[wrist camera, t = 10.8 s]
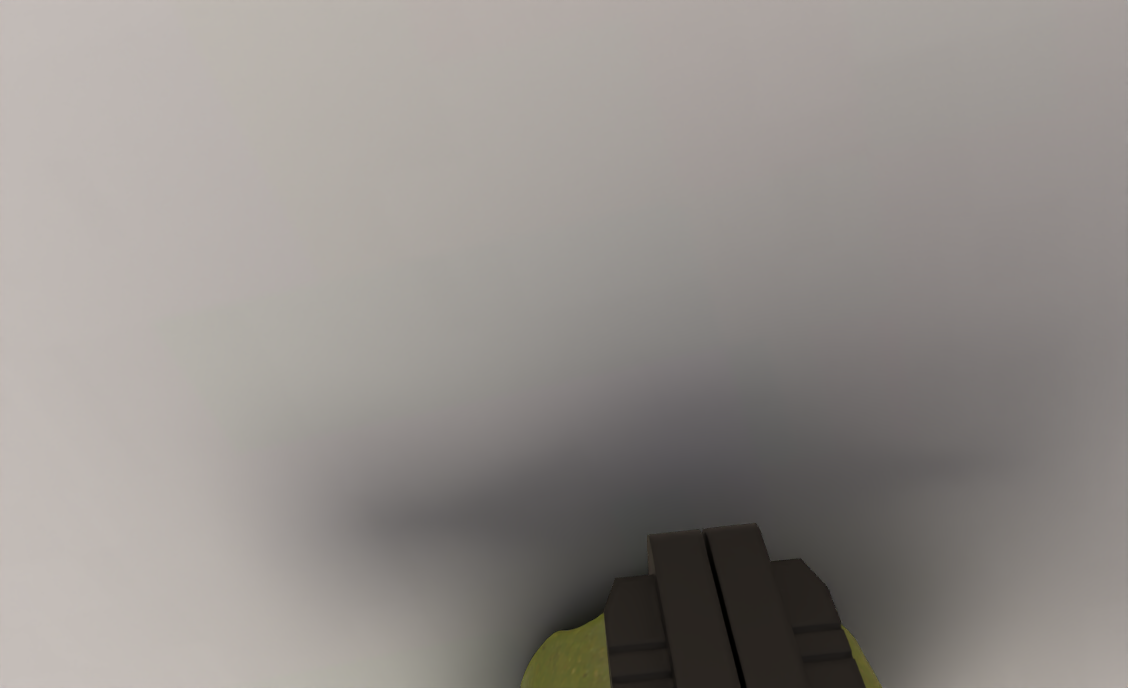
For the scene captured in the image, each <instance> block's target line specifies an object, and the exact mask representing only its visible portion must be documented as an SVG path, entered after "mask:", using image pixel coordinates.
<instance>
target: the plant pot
mask: <svg viewBox="0 0 1128 688" xmlns="http://www.w3.org/2000/svg"><path fill="white" fill-rule="evenodd" d="M841 627H842V629H844V632H845V634H846V637H847V639H848V642H849V645H850V647H851V650H852V656H853V659H855V660H856V663H857V666H858V668H859V671H860V673H861V676H862V679H863V681H864V684H865V687H866V688H882V686H881V684H880V683H879V681H878V679H877V677H876V676H875V674H874V672H873V670H872V668H871V667H870V665H869V663H868V661H867V660H866V658H865V656H864V654H863V652H862V650H861V649H860V647H859V645H858V643H857V641H856V639H855V638H854V637H853V636H852V635H851V633H850V632H849V631H848V630H847V629H846V628H845V627H844V626H843V625H842V624H841ZM520 688H611V686H610V677H609V666H608V656H607V645H606V634H605V623H604V613H602V614H601V615H600V616H598V617H597V618H596V619H594V620H592V621H590V622H588V623H587V624H585V625H583V626H581V627H578V628H576V629H572V630H567V631H557V632H555V633H553V634H552V635H551V636H550V637H549V638H548V639H546V641H545V642H544V643H543V644H542V645H541V647H540V648H539V649H538V650H537V652H536V653H535V654H534V656H533V658H532V659H531V661H530V663H529V664H528V667H527V669H526V671H525V674H524V676H523V679H522V682H521V686H520Z"/></svg>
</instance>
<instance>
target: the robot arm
mask: <svg viewBox="0 0 1128 688" xmlns="http://www.w3.org/2000/svg"><path fill="white" fill-rule="evenodd" d="M647 552H648V574H649V575H642V576H633V577H623V578H615V580H614V583H613V586H612V588H611V591H610V594H609V597H608V600H607V603H606V606H605V608H604V611H603V612H604V623H605V634H606V645H607V656H608V666H609V677H610V686H611V688H866V687H865V684H864V681H863V679H862V676H861V673H860V671H859V668H858V666H857V663H856V660H855V659H853V656H852V650H851V647H850V645H849V642H848V639H847V637H846V634H845V632H844V629H842V627H841V621H840V618H839V616H838V613H837V611H836V608H835V605H834V603H833V600H832V598H831V595H830V592H829V590H828V587H827V586H826V585H825V584H824V583H823V582H822V581H821V580H820V579H819V578H818V577H817V575H816V574H815V573H814V572H813V571H812V570H811V569H810V568H809V567H808V566H807V565H806V564H805V563H804V561H803V560H802V559H801V558H800V559H790V560H781V561H772V562H770V559H769V556H768V553H767V550H766V547H765V544H764V541H763V538H762V535H761V532H760V529H759V527H758V526H757V524H756V523H752V524H742V525H733V526H723V527H714V528H704V529H703V530H702V533H701V531H700V530H699V529H697V530H688V531H678V532H669V533H660V534H650V535H647Z"/></svg>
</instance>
